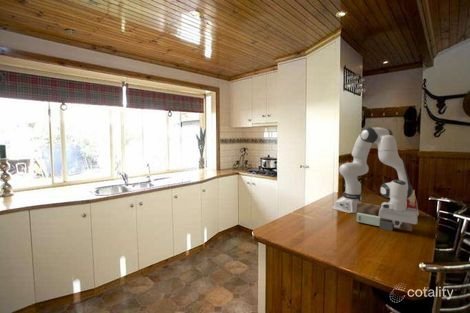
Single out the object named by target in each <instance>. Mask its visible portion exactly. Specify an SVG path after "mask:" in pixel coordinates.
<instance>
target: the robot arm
mask: <svg viewBox="0 0 470 313" xmlns="http://www.w3.org/2000/svg"><path fill="white" fill-rule="evenodd" d="M373 144H376V146H377V150H378V151H377V156H378V159H379V161H380V162H381V163H382V164H384V165H386V166H388V167H391V168H394V170H396V172H397V177H398V179H393V180H392V181H390V182H385V183H382V184H381V185H380V187H379V192H380V195H382V197H384V198H389V201H384V202H382V203H381V205H380V206H381V208H380V210H378V211H379V212H378V216H379V217H380V218H381V219H385V220H390V221H392V222H393V224H394V227H396V228H395V229H399V228H400V225H401V224H402V222H405V223H411V224H412V225H417V224H418V223H419V222H418V220H419V219H418V217H419V214H420V212H419V210H417V211H416V209H414V208H407V201H406V198H409V197H410V196H411V195H412V193H413V190H414V189H413V187H412V185H411V182H410V178H409V175H408V172H407V171H408V170H407V166H406V163H405V161H404V160H403V159H402V158H401V157H400V155H399V153H398V144H397V141H396V138H395V136H394V135H393V132H392V130H391V129H389V128H387V127H376V126H375V127H373V126H372V127H371V126H368V127H364V128H363V129H362V130H361V132H360V134H359V135H358V137H357V138H356V140H355V143H354V145H353V148H352V151H351V156H352V157H353V161H352V162H344V163H342V164H341V165H340V166H339V168H338V171H339V174H340V176H342V177H343V178H344V182H345V191H344V192H342V196H340V197H339V198H338V199H337V200H336V201H335V203H334V205H332V206H331V208H332V210H336V211H339V212H345V213H348V214H354V213H355V214H357V202H360V203H362V183H361V182H360V181H359V179H358V177H359V176H364V175H365V174H368V172H369V169H370V168H369V165H368V164H367V160H368V155H369V153H370V151H371V147H372V145H373ZM417 216H418V217H417ZM395 221H399V223H400V224H399V225H398V224H396V223H395ZM394 227H393V228H394Z"/></svg>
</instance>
